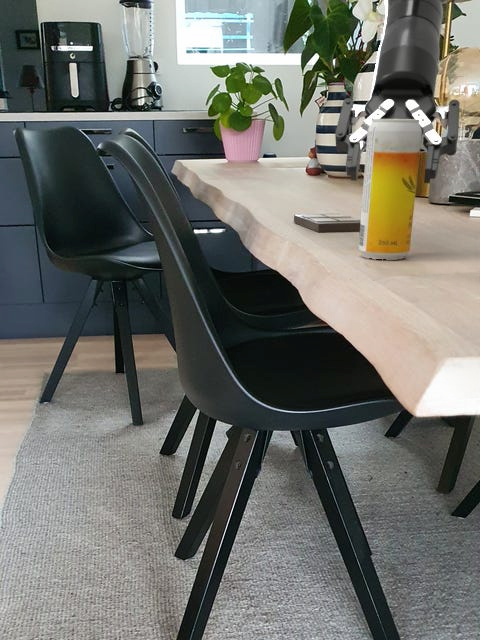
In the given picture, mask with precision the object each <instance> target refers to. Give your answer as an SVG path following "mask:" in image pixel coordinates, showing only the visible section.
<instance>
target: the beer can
mask: <svg viewBox="0 0 480 640" xmlns="http://www.w3.org/2000/svg"><path fill="white" fill-rule="evenodd" d="M421 135H422V130H421V127H420V124H419V120H418V119H372V122H371V124H370V126H369V128H368V132H367V145H366V150H365V157H364V158H365V160H364V172H363V173H364V174H363V184H362V185H363V186H362V198H361V211H360V212H361V213H360V220H361V224H360V231H359V238H358V239H359V240H358V250H359V251H360V253H361V254H362V257H363V258H365V259H369V258H372V259H371V260H376V259H382V260H381V261H384V260H383V259H386V260H385V261H398V259H399V260H403V259H405V257H406V255H407V254H408V253H409V252H410V249H411V248H410V247H411V240H412V230H413V221H414V212H415V211H414V210H415V202H416V191H417V184H418V183H417V182H418V174H419V173H418V171H419V162H420V152H421V149H420V144H421Z"/></svg>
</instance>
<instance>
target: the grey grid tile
mask: <svg viewBox="0 0 480 640" xmlns="http://www.w3.org/2000/svg"><path fill="white" fill-rule="evenodd" d="M293 223H294V224H296V225H299V226H302V227H304V228H307V229H309V230H311V231H314V232H317V233H345V232H348V233H349V232H360V224H361V219H358V218H355V217H352V216H349V215H346V214H343V213H305V214H304V213H303V214H301V213H299V214H293Z"/></svg>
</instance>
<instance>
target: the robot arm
mask: <svg viewBox="0 0 480 640" xmlns="http://www.w3.org/2000/svg"><path fill="white" fill-rule="evenodd" d="M383 1H384V5H385V6H384V7H385V20H384V27H383V34H382V38H381V42H380V45H379V47H378V51H377V56H376V57H377V58H376V64H375V68H374V74H373V80H372V81H373V82H372V87H371V88H372V89H371V93H370V98H369V100H368V101H367V102H366V104H355V103H354V100H353V98H350V97H347V98H345V99H343V101H342V105H341V109H340V113H339V117H338V121H337V125H336V129H335V133H334V136H335V137H334V138H335V150H336V152H338V153H344V152H346V153H347V154H346V159H345V173H346V176H348V177H350V181H354V182H357V181H358V178H359V170H360V164H361V158H362V154H363V153H364V151H365V152H366V145H367V132H368V128H369V126H370V124H371V122H372V119H418V120H419V124H420V127H421V130H422V135H421V144H420V150H423V151H424V152H425V153H426V160H425V167H424V176H423V177H424V178H423V184H431V180H435V179H437V176H438V171H439V163H440V159H441V157H442V156H444V155H447V156H451V157H452V156H454V155H456V154H457V147H458V146H457V145H458V140H459V125H460V105H461V103H460V100H459V99H452V100H450V101H449V103H448V105H436V103H435V101H434V99H435V93H436V84H437V77H438V72H439V69H440V67H439V62H440V40H441V33H442V25H443V24H442V23H443V15H444V9H443V4H446V3H449V2H450V0H383ZM361 118H364V120H363V121H362V123H361V126H360V127H359V128H358V129H357V130H355V131H354V132H353V133H352V134H351V131H352V127H355V126H356V125H357V123H358V122H359V120H360V119H361ZM435 119H438V120H439V121H440V124H441V125H442V127H443V128H446V136H443V137H441V136H440V135H439V134H438V132H437V131H436V129H434V124H433V122H434V121H435Z"/></svg>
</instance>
